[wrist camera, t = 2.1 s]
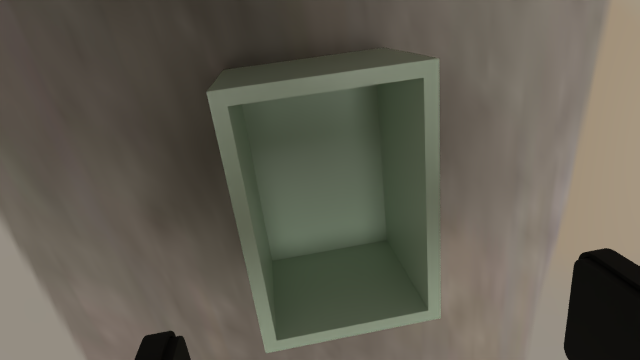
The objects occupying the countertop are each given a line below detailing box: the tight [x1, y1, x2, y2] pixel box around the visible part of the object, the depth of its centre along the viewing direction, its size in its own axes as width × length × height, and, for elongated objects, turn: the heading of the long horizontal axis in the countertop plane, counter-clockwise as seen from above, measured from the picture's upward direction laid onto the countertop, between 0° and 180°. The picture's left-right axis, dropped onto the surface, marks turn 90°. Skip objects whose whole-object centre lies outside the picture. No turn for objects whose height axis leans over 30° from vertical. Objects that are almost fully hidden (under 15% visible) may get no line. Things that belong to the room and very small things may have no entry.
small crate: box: [206, 48, 441, 353], centre depth 16 cm, size 7×10×6 cm
